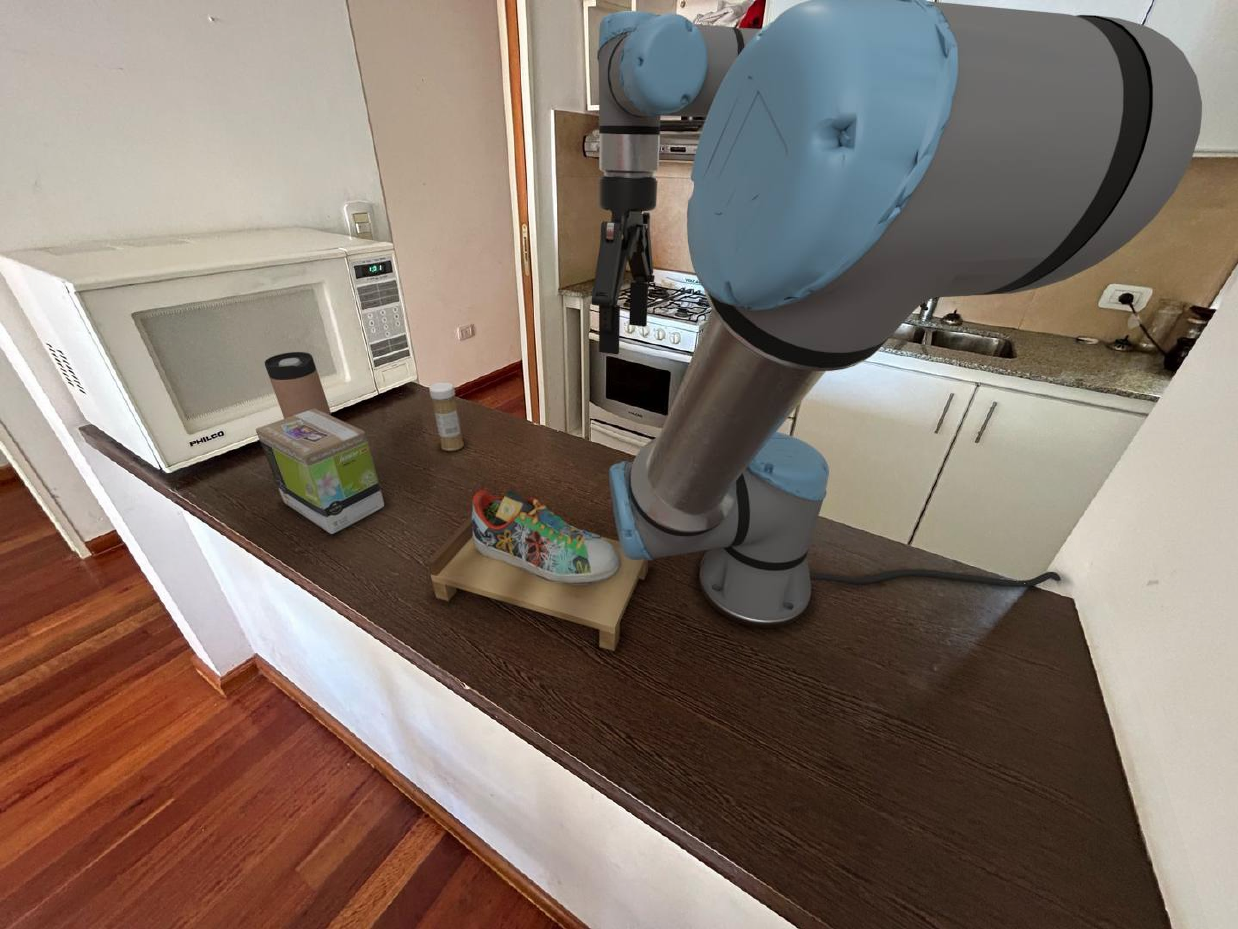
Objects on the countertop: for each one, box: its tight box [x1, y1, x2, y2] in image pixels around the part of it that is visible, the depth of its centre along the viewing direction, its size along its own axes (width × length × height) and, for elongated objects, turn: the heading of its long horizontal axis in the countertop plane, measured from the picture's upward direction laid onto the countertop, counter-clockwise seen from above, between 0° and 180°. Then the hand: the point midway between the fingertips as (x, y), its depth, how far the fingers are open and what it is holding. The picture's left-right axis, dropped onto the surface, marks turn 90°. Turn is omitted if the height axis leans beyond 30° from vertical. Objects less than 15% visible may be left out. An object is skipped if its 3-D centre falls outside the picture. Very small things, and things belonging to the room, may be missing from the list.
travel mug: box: [264, 351, 333, 419], centre depth 96 cm, size 8×8×20 cm
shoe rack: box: [426, 514, 650, 652], centre depth 71 cm, size 26×15×7 cm, turn 71°
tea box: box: [255, 409, 385, 535], centre depth 83 cm, size 15×10×15 cm
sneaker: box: [471, 488, 621, 585], centre depth 68 cm, size 8×21×10 cm, turn 71°
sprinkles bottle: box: [428, 381, 464, 452], centre depth 101 cm, size 5×5×13 cm
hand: (624, 338), depth 76 cm, fingers open, 13 cm apart
